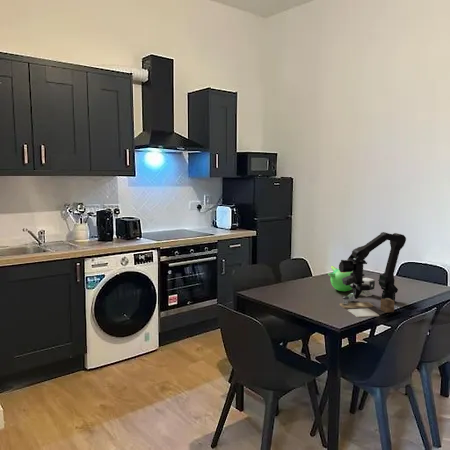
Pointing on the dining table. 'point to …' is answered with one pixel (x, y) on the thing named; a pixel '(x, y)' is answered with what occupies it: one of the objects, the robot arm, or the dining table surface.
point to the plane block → (356, 305)
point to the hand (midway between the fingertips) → (356, 298)
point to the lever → (348, 298)
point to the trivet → (363, 312)
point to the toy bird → (339, 279)
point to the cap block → (387, 305)
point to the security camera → (371, 283)
